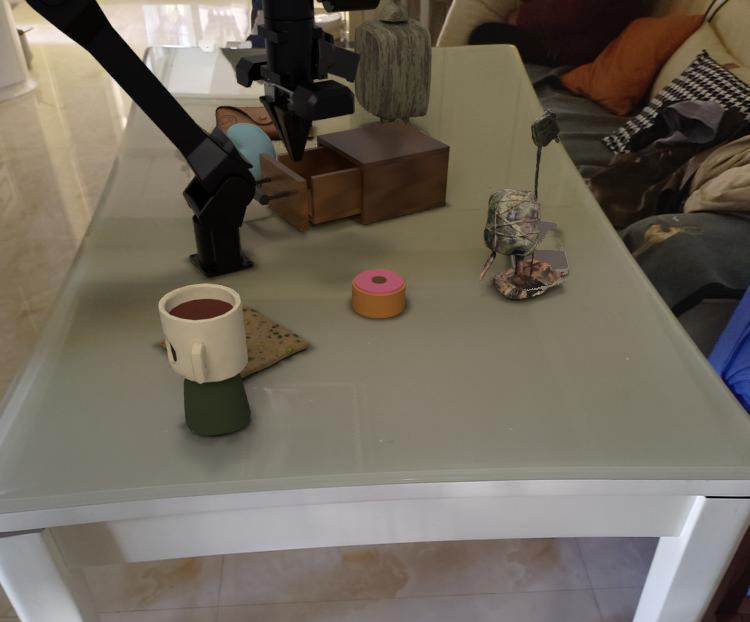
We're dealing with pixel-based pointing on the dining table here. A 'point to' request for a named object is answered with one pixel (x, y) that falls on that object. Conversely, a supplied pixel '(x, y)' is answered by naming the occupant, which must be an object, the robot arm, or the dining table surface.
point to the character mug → (208, 355)
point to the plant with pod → (520, 226)
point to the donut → (378, 293)
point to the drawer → (310, 186)
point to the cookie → (265, 342)
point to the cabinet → (393, 168)
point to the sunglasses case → (248, 119)
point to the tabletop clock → (393, 65)
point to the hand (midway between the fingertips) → (296, 160)
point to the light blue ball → (251, 144)
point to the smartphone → (547, 251)
